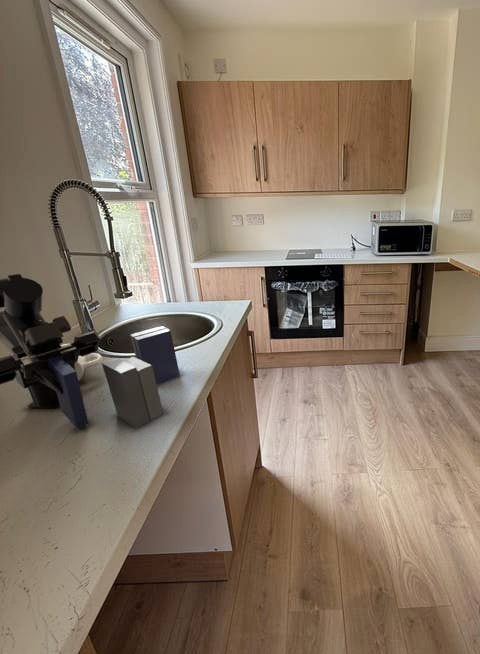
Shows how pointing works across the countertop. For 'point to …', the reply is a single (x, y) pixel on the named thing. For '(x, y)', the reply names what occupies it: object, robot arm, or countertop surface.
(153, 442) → the countertop surface
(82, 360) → the mug
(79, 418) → the navy book
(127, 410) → the grey books
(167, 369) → the navy books
